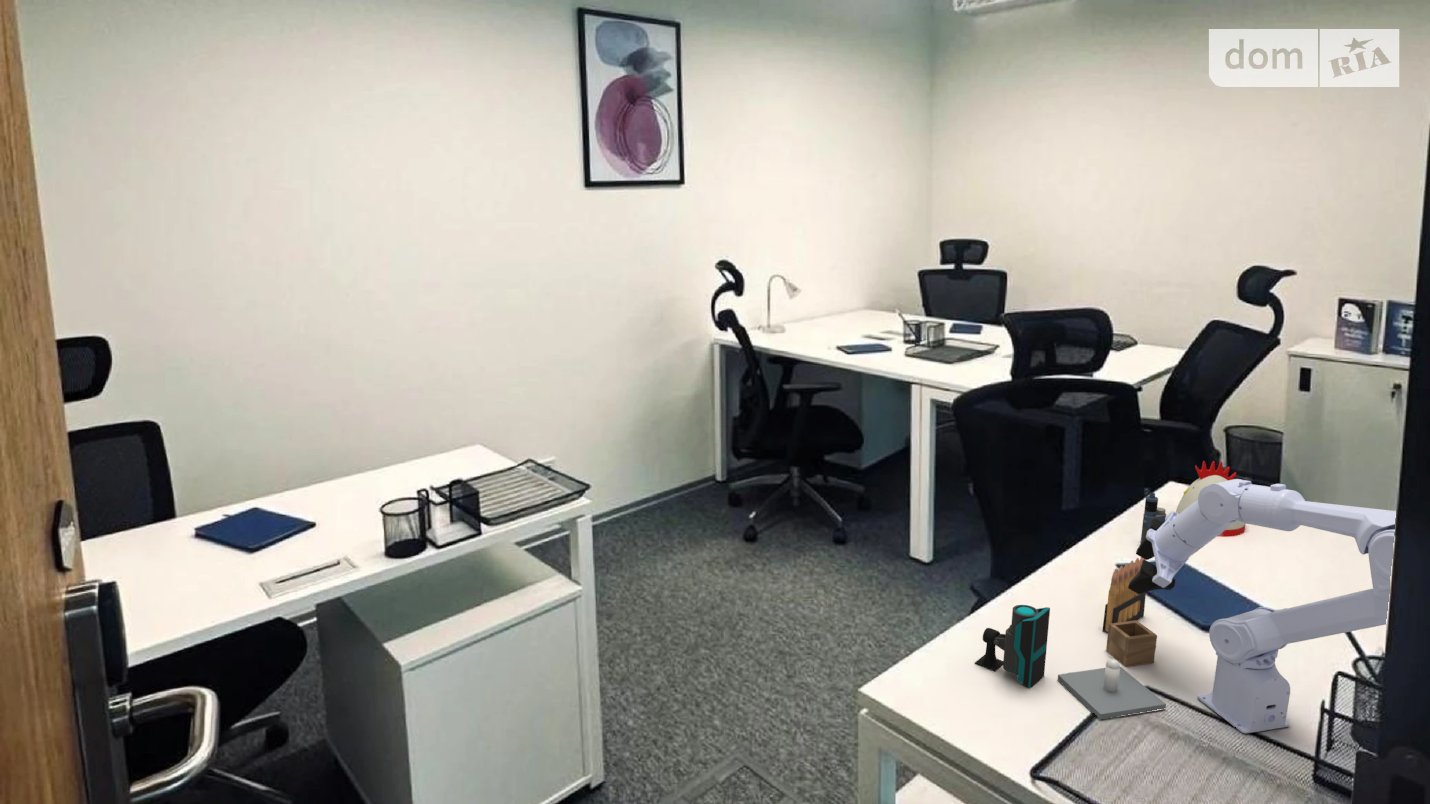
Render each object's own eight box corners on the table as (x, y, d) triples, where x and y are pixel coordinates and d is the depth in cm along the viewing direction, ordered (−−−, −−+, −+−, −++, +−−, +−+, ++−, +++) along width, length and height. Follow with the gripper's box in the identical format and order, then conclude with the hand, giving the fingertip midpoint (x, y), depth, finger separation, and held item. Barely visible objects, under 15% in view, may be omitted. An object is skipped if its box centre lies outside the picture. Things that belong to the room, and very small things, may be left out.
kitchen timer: (1170, 510, 212) (1178, 449, 208) (1237, 516, 207) (1245, 454, 204) (1180, 533, 199) (1188, 468, 195) (1250, 540, 195) (1260, 474, 191)
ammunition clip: (1111, 635, 157) (1118, 572, 154) (1101, 631, 158) (1108, 568, 155) (1144, 616, 163) (1151, 555, 160) (1134, 612, 165) (1140, 551, 161)
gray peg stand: (1165, 709, 135) (1169, 674, 134) (1099, 720, 133) (1103, 684, 132) (1119, 671, 146) (1122, 637, 144) (1057, 680, 144) (1060, 646, 142)
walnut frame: (1153, 662, 148) (1157, 635, 147) (1125, 666, 147) (1128, 639, 146) (1133, 646, 153) (1136, 620, 152) (1106, 650, 152) (1108, 623, 151)
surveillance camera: (992, 587, 149) (1051, 607, 142) (988, 653, 152) (1045, 675, 145) (976, 599, 145) (1035, 620, 138) (971, 666, 148) (1029, 689, 141)
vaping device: (1137, 545, 193) (1143, 492, 190) (1157, 541, 194) (1163, 489, 191) (1146, 549, 191) (1152, 496, 188) (1166, 546, 192) (1172, 493, 189)
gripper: (1172, 486, 144) (1123, 528, 155) (1158, 551, 135) (1107, 592, 146) (1213, 509, 143) (1161, 550, 154) (1202, 576, 134) (1147, 615, 145)
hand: (1137, 572), depth 150 cm, fingers open, 7 cm apart
